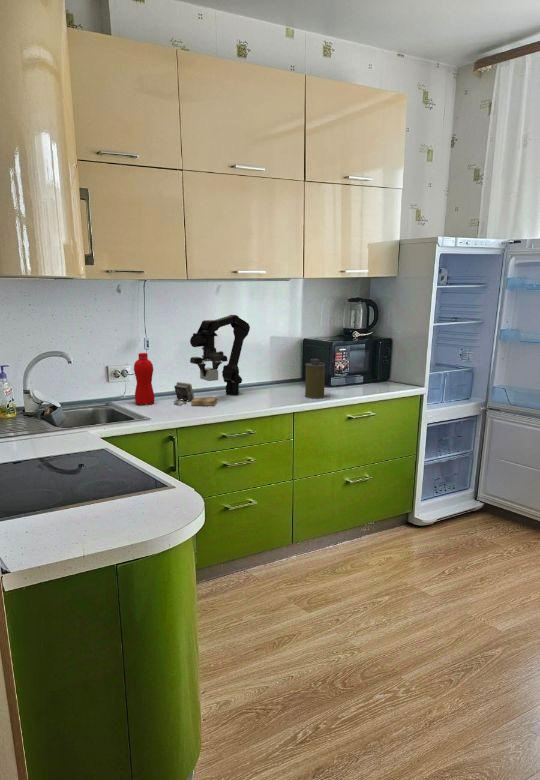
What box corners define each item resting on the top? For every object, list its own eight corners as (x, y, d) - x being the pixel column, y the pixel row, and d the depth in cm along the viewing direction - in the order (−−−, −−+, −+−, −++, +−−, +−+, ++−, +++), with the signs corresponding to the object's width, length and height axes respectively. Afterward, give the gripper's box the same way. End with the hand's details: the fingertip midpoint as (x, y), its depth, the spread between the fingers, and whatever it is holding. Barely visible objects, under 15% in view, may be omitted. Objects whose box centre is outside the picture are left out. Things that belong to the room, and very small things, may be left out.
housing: (209, 377, 285) (209, 366, 284) (218, 380, 278) (218, 369, 277) (200, 378, 282) (200, 367, 281) (208, 381, 275) (208, 369, 274)
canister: (312, 399, 284) (313, 361, 280) (300, 395, 292) (301, 358, 288) (329, 397, 289) (330, 359, 286) (317, 393, 298) (318, 357, 294)
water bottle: (153, 400, 279) (151, 351, 274) (155, 404, 269) (153, 354, 264) (134, 401, 277) (132, 351, 272) (135, 405, 267) (133, 354, 262)
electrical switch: (195, 400, 280) (193, 382, 277) (188, 403, 275) (186, 385, 273) (181, 398, 285) (179, 381, 282) (174, 401, 280) (172, 383, 278)
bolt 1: (182, 405, 268) (182, 402, 267) (180, 406, 267) (180, 402, 266) (176, 404, 271) (176, 400, 270) (173, 404, 270) (173, 401, 269)
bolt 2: (186, 403, 273) (186, 400, 272) (186, 404, 271) (186, 400, 271) (176, 403, 271) (176, 400, 271) (176, 404, 270) (176, 401, 270)
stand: (216, 403, 274) (216, 398, 273) (213, 406, 266) (213, 401, 265) (195, 402, 275) (194, 397, 274) (191, 406, 267) (191, 400, 266)
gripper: (200, 348, 265) (200, 380, 268) (233, 346, 276) (233, 376, 279) (189, 346, 274) (189, 377, 277) (221, 344, 284) (221, 373, 287)
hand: (209, 376), depth 280 cm, fingers closed on housing, 5 cm apart
